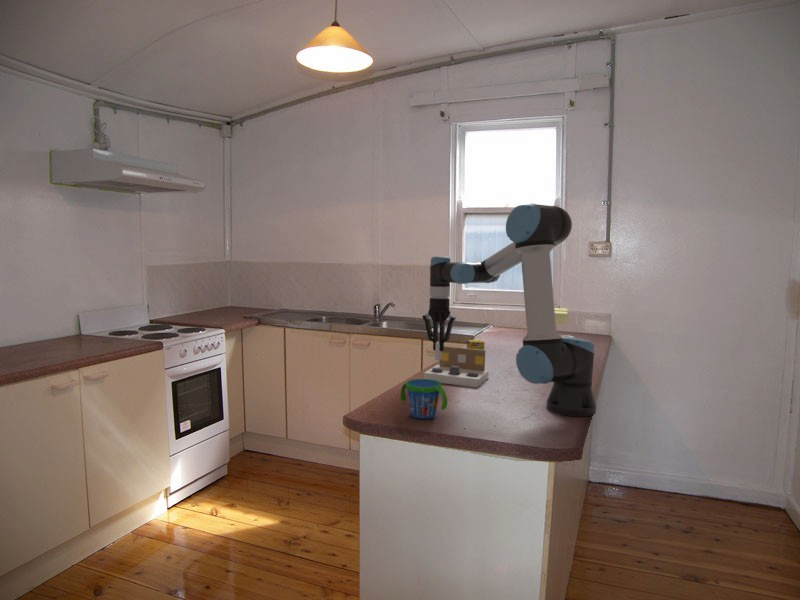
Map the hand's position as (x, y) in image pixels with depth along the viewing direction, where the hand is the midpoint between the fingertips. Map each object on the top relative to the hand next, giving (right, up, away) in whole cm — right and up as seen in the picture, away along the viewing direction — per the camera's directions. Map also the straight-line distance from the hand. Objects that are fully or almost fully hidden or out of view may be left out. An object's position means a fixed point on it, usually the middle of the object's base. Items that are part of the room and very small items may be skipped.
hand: (438, 359), depth 210 cm
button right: (+12, -8, -4) cm, 15 cm away
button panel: (+7, -8, +1) cm, 11 cm away
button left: (-1, -7, +1) cm, 7 cm away
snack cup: (-8, -12, -45) cm, 48 cm away
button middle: (+6, -6, -2) cm, 9 cm away
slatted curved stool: (+67, -1, +89) cm, 111 cm away
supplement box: (+17, -6, +26) cm, 32 cm away
